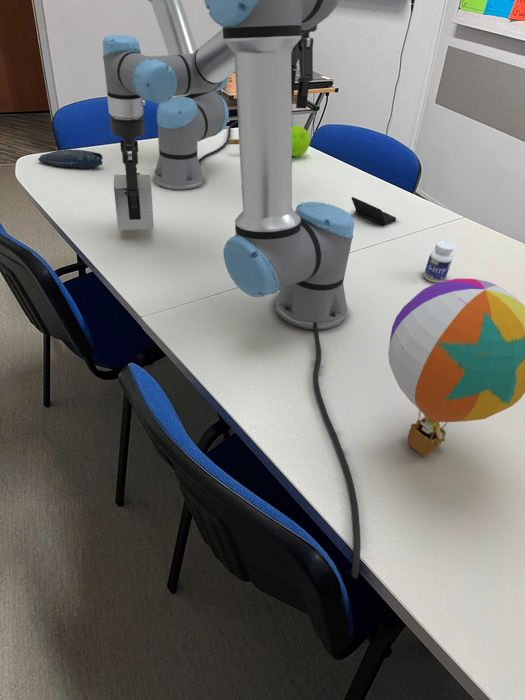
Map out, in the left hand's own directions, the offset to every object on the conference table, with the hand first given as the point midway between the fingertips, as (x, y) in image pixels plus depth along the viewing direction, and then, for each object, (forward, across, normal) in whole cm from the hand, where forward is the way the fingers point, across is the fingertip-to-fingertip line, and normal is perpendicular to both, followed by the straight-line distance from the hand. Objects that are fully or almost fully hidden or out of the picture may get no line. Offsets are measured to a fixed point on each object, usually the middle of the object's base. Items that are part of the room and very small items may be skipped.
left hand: (294, 101), depth 146 cm
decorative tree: (+27, +34, -2) cm, 44 cm away
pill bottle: (+27, -53, -25) cm, 65 cm away
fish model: (+27, +25, +65) cm, 75 cm away
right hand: (+21, -25, +46) cm, 56 cm away
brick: (+24, -25, +46) cm, 58 cm away
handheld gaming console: (+27, -19, -22) cm, 40 cm away
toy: (+27, -104, +3) cm, 107 cm away
